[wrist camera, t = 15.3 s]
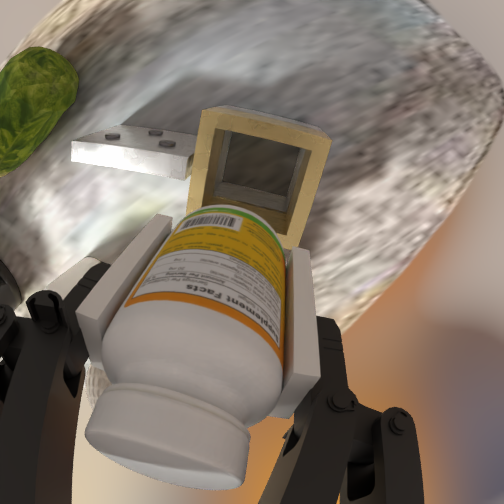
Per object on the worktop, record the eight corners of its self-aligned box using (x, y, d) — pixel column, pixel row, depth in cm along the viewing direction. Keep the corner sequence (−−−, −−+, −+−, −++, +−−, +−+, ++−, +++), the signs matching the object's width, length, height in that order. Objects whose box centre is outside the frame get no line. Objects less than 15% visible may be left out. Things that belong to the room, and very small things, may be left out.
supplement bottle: (232, 317, 15) (192, 496, 7) (151, 253, 14) (45, 426, 6) (310, 258, 13) (324, 486, 5) (220, 175, 11) (87, 388, 3)
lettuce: (1, 134, 30) (-49, 156, 21) (65, 35, 23) (4, 33, 13) (30, 183, 35) (-19, 214, 25) (103, 88, 27) (40, 97, 18)
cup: (82, 239, 39) (35, 285, 29) (126, 273, 41) (88, 328, 31) (70, 274, 43) (31, 318, 33) (109, 304, 45) (77, 354, 35)
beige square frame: (197, 268, 39) (176, 316, 31) (226, 104, 28) (202, 109, 20) (269, 285, 39) (264, 337, 31) (318, 126, 28) (332, 140, 20)
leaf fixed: (116, 170, 33) (72, 198, 25) (124, 92, 28) (74, 99, 20) (294, 209, 33) (296, 251, 25) (318, 126, 28) (332, 140, 20)
